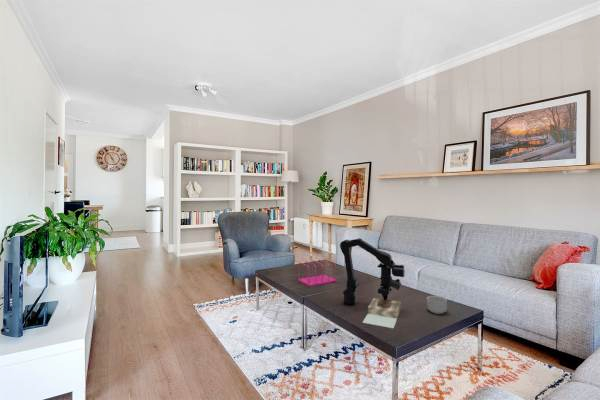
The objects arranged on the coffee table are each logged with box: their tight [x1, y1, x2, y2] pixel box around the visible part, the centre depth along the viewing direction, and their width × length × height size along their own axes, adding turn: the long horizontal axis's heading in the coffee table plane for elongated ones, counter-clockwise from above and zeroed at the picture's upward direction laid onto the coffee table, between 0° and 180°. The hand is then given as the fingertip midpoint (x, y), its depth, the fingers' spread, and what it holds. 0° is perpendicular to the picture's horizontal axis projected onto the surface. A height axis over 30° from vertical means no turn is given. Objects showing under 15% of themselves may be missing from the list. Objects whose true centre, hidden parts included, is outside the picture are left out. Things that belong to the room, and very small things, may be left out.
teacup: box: [426, 295, 448, 315], centre depth 178 cm, size 14×11×8 cm
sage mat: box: [362, 313, 398, 329], centre depth 166 cm, size 16×13×1 cm
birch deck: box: [367, 297, 402, 319], centre depth 179 cm, size 16×16×4 cm
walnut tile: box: [377, 298, 393, 308], centre depth 178 cm, size 7×6×2 cm
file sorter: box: [297, 258, 338, 288], centre depth 237 cm, size 17×25×16 cm
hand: (385, 301), depth 181 cm, fingers closed
